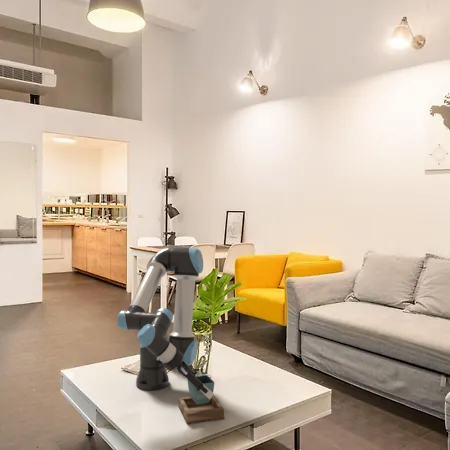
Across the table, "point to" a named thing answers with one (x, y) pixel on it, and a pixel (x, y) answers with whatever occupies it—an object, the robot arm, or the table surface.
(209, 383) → the flower pot
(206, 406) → the wooden tray
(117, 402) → the table surface
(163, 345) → the robot arm
